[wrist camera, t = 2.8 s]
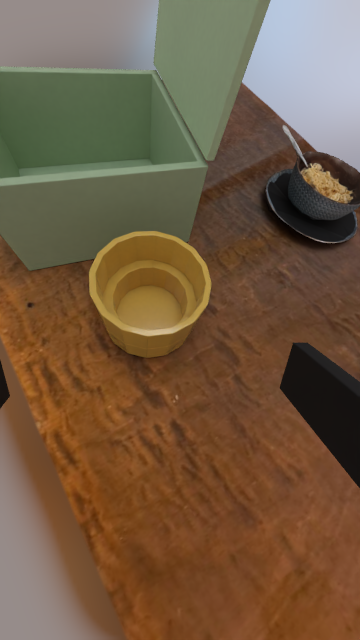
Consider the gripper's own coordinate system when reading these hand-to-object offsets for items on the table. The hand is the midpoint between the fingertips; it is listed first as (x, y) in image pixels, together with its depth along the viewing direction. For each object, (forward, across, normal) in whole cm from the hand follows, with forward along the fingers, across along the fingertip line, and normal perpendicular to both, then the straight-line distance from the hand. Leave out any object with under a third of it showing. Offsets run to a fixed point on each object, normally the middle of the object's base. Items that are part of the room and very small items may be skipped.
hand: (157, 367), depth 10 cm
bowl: (+14, 0, -3) cm, 15 cm away
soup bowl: (+28, +23, +10) cm, 37 cm away
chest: (+25, -6, +8) cm, 27 cm away
